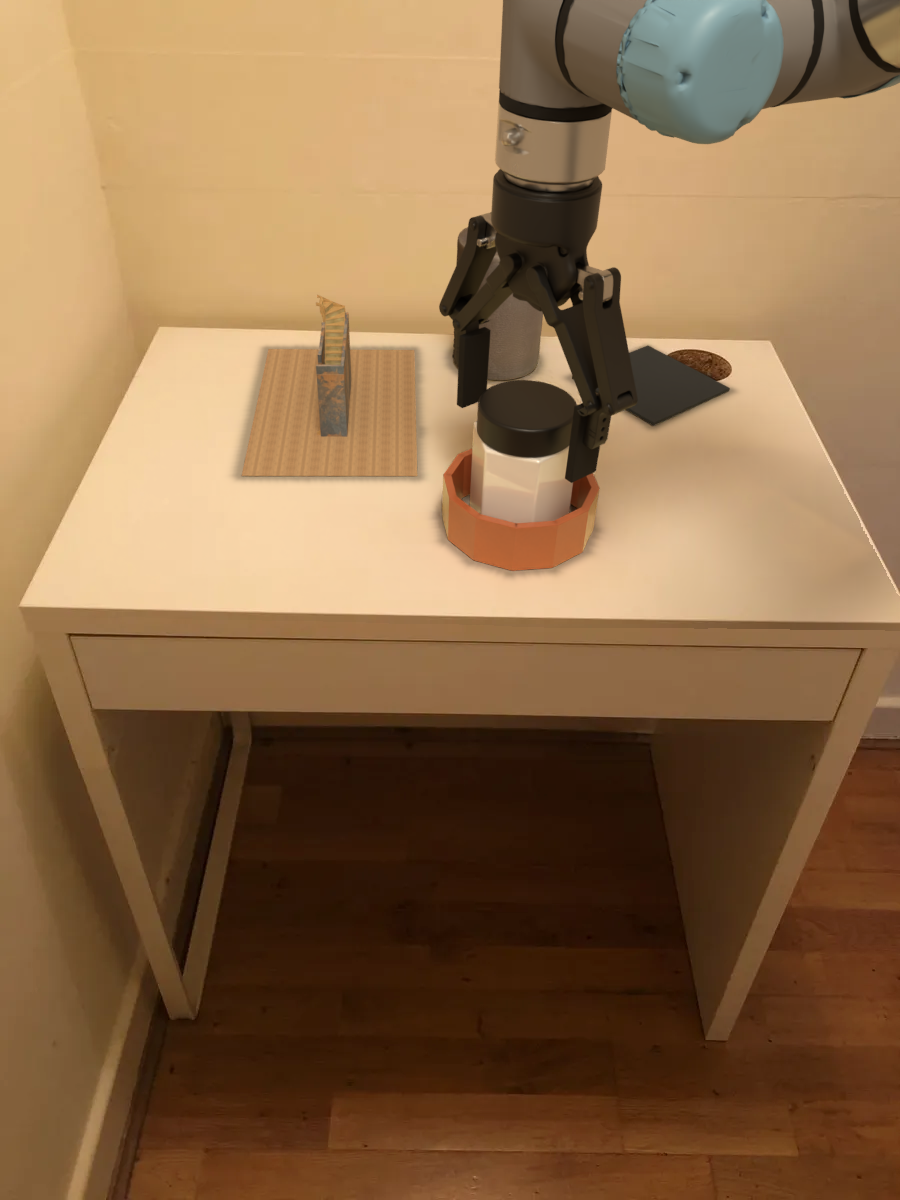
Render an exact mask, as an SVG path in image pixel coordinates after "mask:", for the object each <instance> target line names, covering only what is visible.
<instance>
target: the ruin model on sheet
mask: <svg viewBox="0 0 900 1200" xmlns="http://www.w3.org/2000/svg"><path fill="white" fill-rule="evenodd" d="M316 297H317V299H319V301H318V302H317V301H316V302H315V307H319V313H320V315H321V318H322V321H321V330H320V335H319V336H320V338H319V345H318V349H315V348H313V349H312V348H310V349H309V348H308V349H307V348H268V349H267V350H268V351H267V353H266V354H267V355H266V360H265V364H264V367H263V368H264V369H263V373H262V378H261V383H260V387H259V392H258V397H257V402H256V407H255V411H254V416H253V419H252V424H251V428H250V429H251V430H250V434H249V439H248V443H247V449H246V453H245V458H244V464H243V467H242V472H241V477H418V451H417V450H418V448H417V444H418V443H417V408H416V407H417V406H416V405H417V404H416V402H417V401H416V365H415V364H416V363H415V361H416V360H415V358H416V357H415V356H416V355H415V349H351V337H350V315H349V312H348V311H347V312H346V305H343V304H341V303H337V302H335V301H332V300H330V299H328V298H326V297H324V296H321V295H320V294H316Z"/></svg>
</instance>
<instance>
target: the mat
mask: <svg viewBox="0 0 900 1200" xmlns="http://www.w3.org/2000/svg"><path fill="white" fill-rule="evenodd" d="M629 355H630V360H631V366H632V371H633V376H634V382H635V387H636V392H637V398H638V401H637V404H636V405H635V406H632V407H630V408H628V409H626V410H625V411H627V412H628V413H630V414H632V415H634V416H635V417H637V418H639V419H641V420H642V421H644V422H646V423H647V424H649V425H651V426H656V425H658V424H661V423H663V422H665V421H667V420H669V419H671V418H673V417H676V416H678V415H680V414H683V413H685V412H686V411H687V412H688V411H689V410H691V409H694V408H695V407H697V406H700V405H703V404H704V403H706V402H709V401H711V400H713V399H715V398H717V397H719V396H722V395H724V394H726V393H729V392H730V390H731V387H729V386H727V385H725V384H723V383H721V382H720V381H718V380H715V379H714V378H711V377H710V376H708V375H706V374H704V373H702V372H700V371H698V370H696V369H694V368H692V367H690V366H689V365H686V364H685V363H683V362H681V361H679V360H677V359H675V358H673V357H672V356H669V355H667V354H665V353H663V352H661V351H660V350H657V349H655V348H654V347H653V346H650V345H645V346H643V347H640V348H637V349H635V350H633V351H631V352H630V351H629ZM571 379H572V380H574V379H573V376H572V375H571ZM596 393H599V389H598V388H597V389H596Z"/></svg>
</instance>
